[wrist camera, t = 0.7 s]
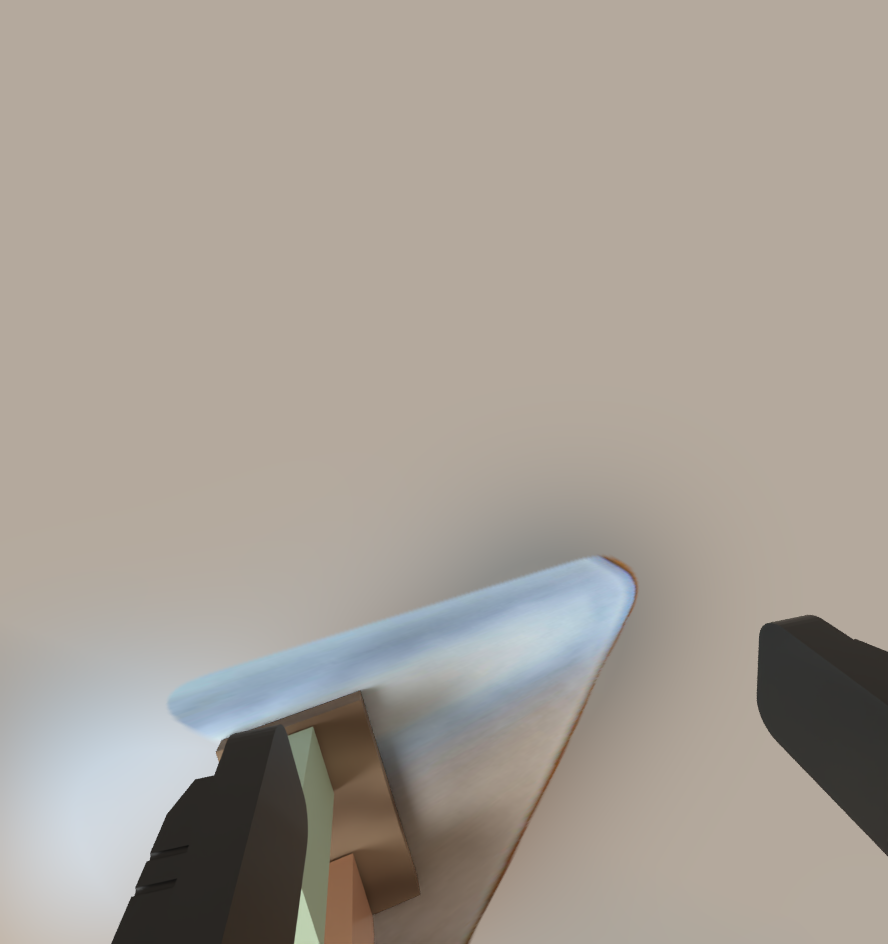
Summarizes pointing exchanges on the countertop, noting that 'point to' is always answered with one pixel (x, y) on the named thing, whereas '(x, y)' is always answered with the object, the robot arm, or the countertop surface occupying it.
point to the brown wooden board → (359, 799)
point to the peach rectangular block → (347, 905)
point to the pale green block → (313, 836)
